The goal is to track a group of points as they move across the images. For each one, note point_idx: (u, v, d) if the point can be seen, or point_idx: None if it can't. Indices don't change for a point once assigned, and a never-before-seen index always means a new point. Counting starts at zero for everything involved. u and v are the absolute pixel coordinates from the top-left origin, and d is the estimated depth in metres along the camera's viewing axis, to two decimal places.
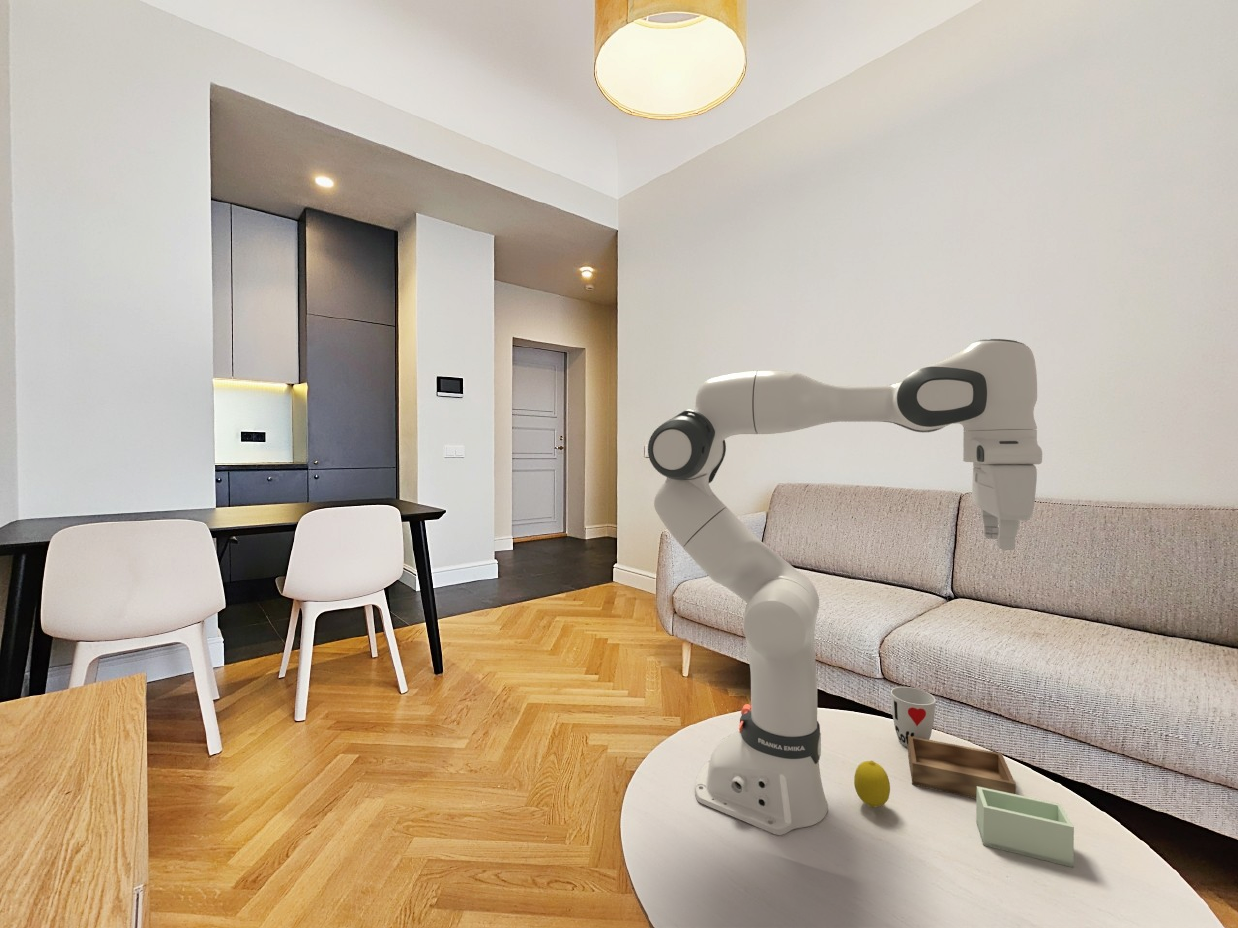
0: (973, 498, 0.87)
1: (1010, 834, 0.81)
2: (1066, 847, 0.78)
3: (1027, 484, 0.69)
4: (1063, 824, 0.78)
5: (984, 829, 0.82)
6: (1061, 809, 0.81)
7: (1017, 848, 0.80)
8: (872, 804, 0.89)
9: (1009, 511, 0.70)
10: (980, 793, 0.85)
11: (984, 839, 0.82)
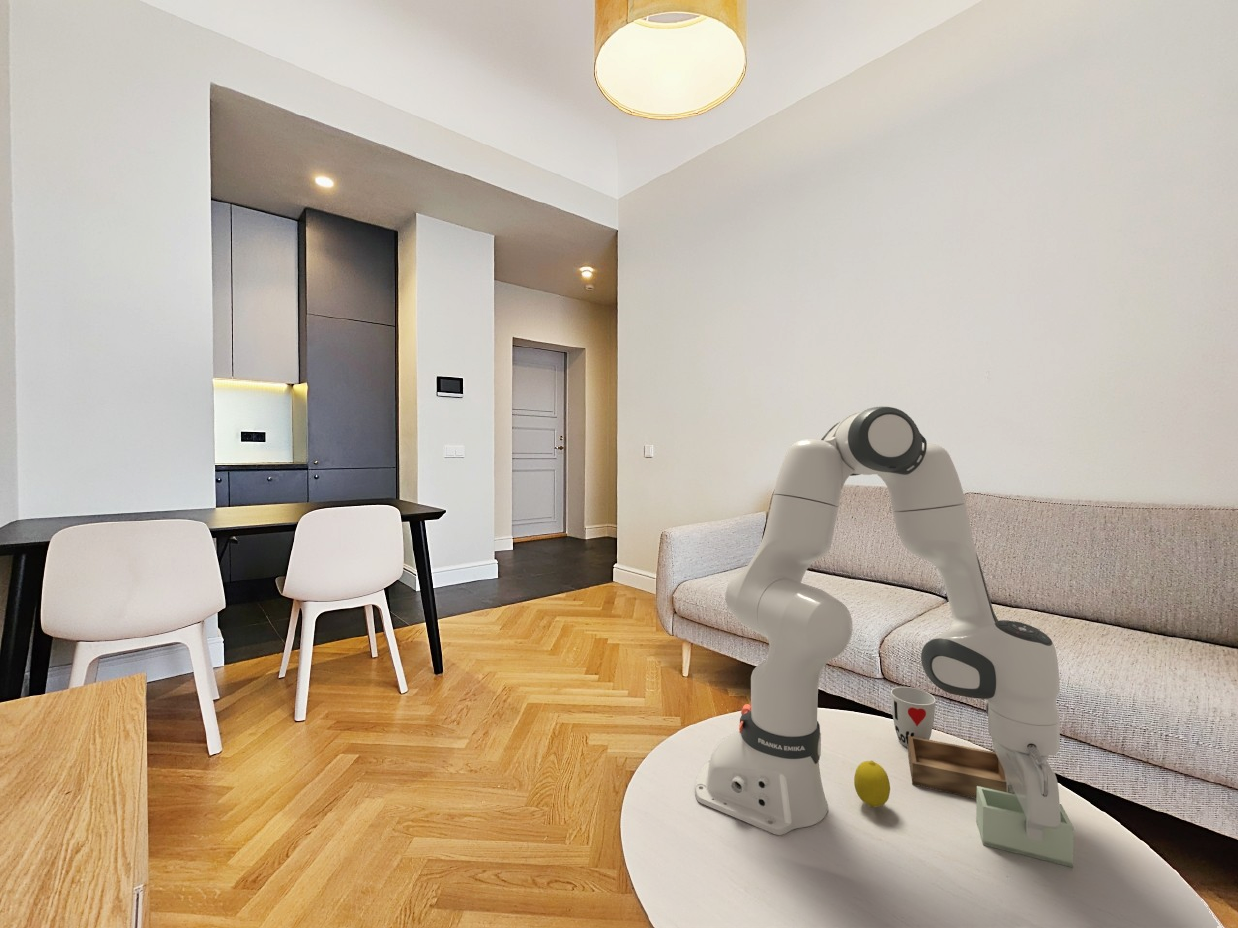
0: None
1: (1010, 834, 0.81)
2: (1066, 847, 0.78)
3: None
4: (1063, 824, 0.78)
5: (984, 829, 0.82)
6: (1061, 809, 0.81)
7: (1017, 848, 0.80)
8: (872, 804, 0.89)
9: None
10: (980, 793, 0.85)
11: (984, 839, 0.82)
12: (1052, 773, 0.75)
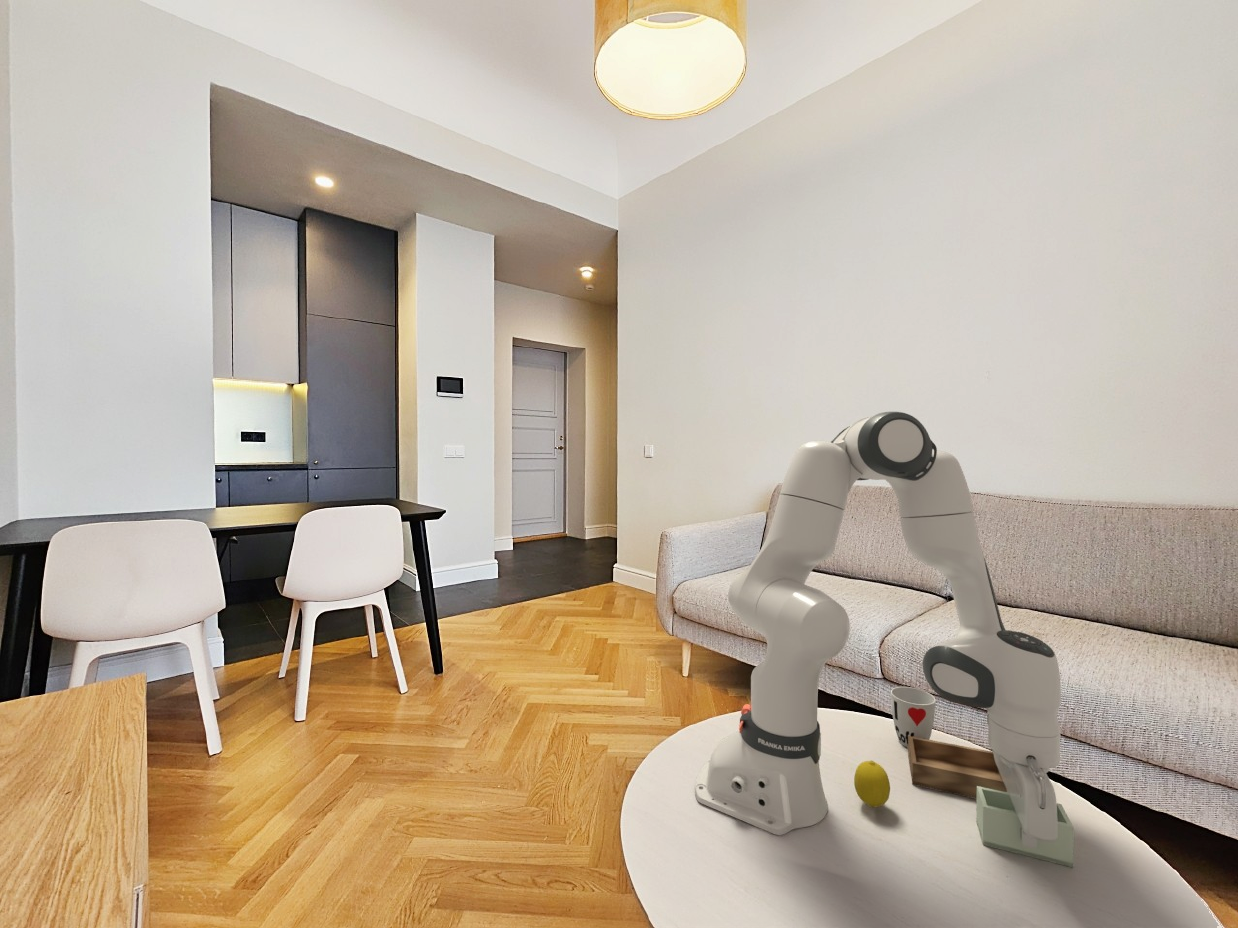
0: None
1: (1010, 834, 0.81)
2: (1066, 847, 0.78)
3: None
4: (1063, 824, 0.78)
5: (984, 829, 0.82)
6: (1061, 809, 0.81)
7: (1017, 848, 0.80)
8: (872, 804, 0.89)
9: None
10: (980, 793, 0.85)
11: (984, 839, 0.82)
12: (1050, 786, 0.74)
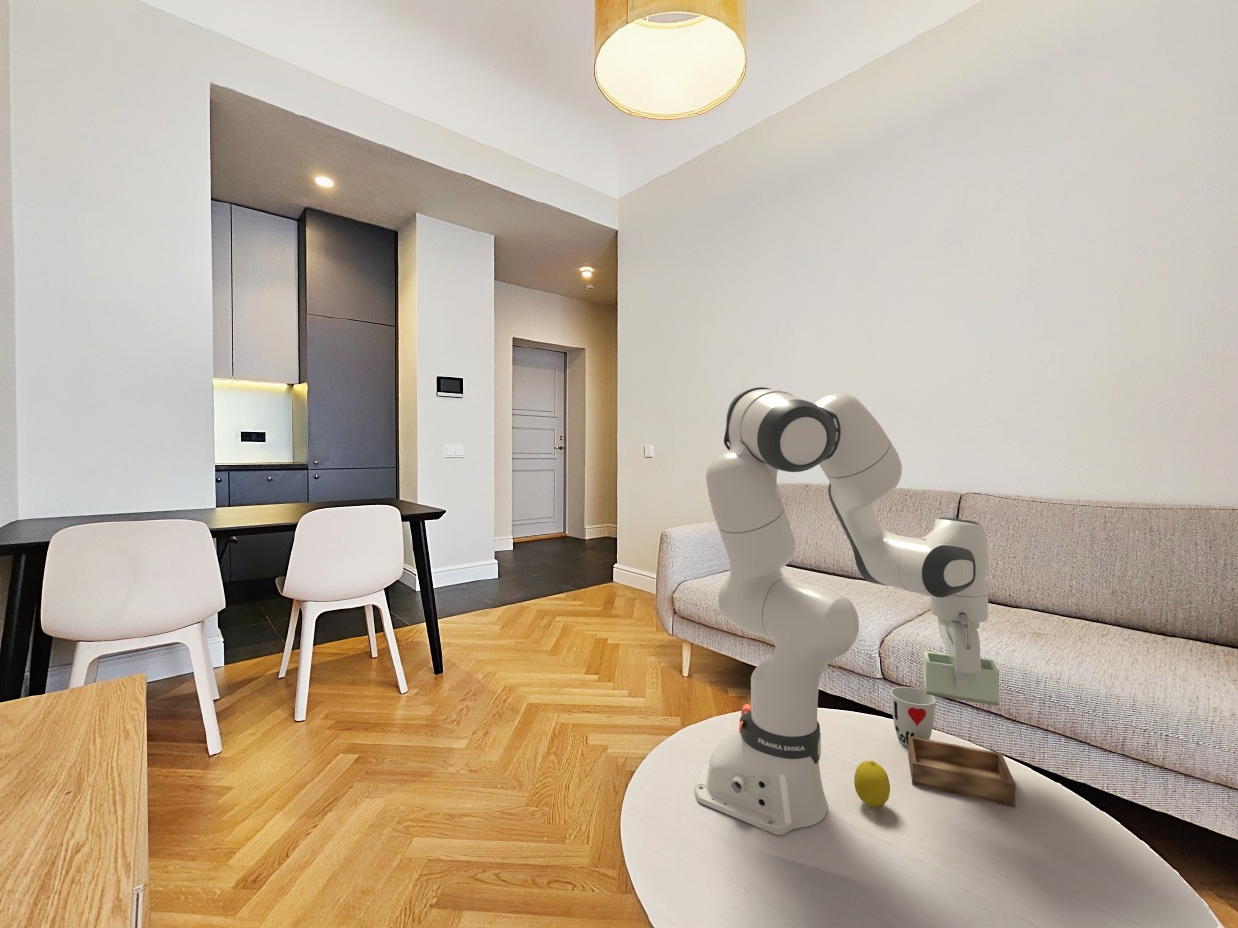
0: None
1: (948, 683, 0.96)
2: (993, 689, 0.93)
3: None
4: (990, 670, 0.93)
5: (927, 681, 0.97)
6: (991, 663, 0.96)
7: (953, 694, 0.96)
8: (872, 804, 0.89)
9: None
10: (925, 655, 1.00)
11: (927, 689, 0.97)
12: (975, 631, 0.89)
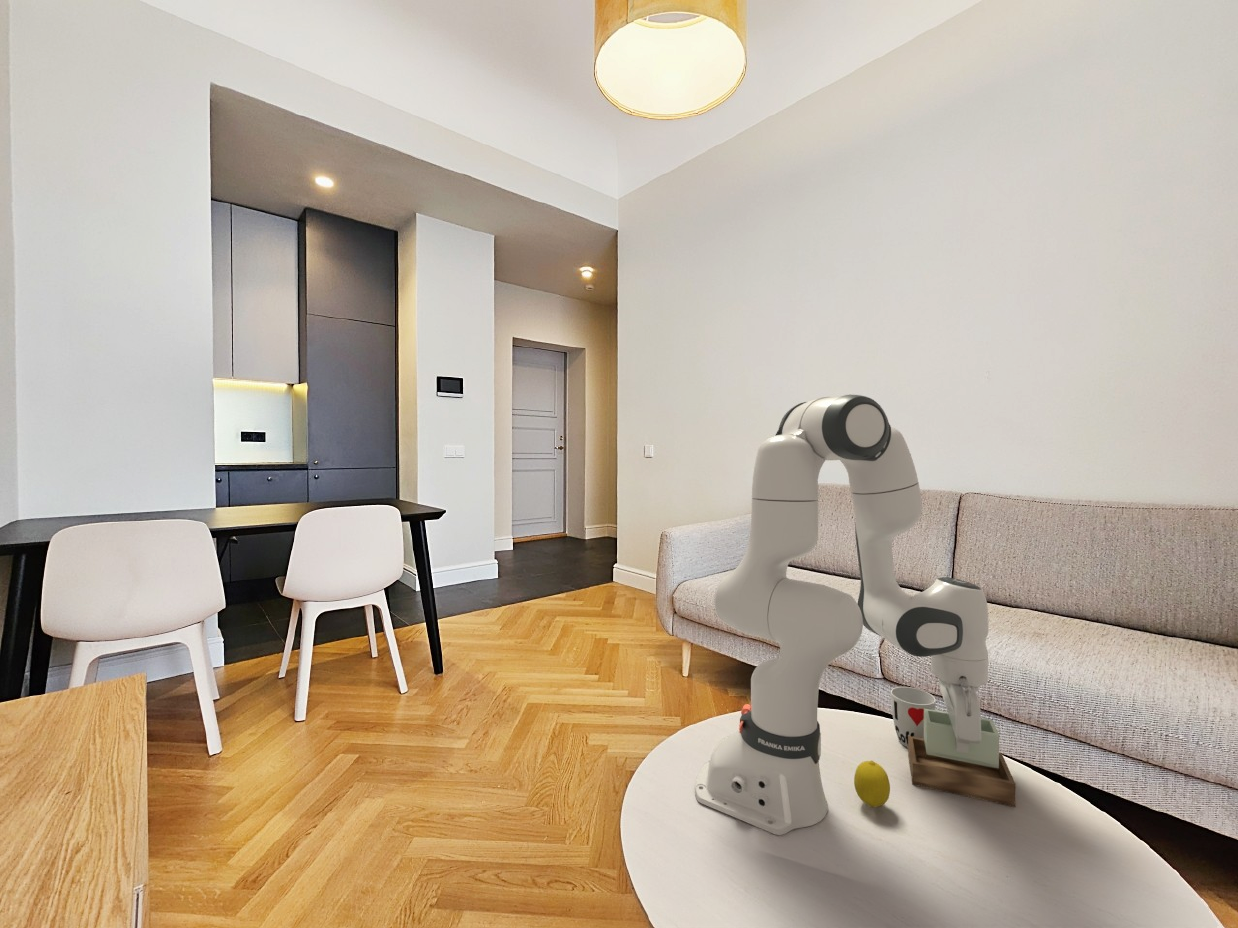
0: None
1: (948, 744, 0.96)
2: (993, 752, 0.94)
3: None
4: (991, 733, 0.94)
5: (927, 741, 0.98)
6: (991, 723, 0.97)
7: (954, 755, 0.96)
8: (872, 804, 0.89)
9: None
10: (926, 713, 1.01)
11: (927, 749, 0.98)
12: (976, 698, 0.90)
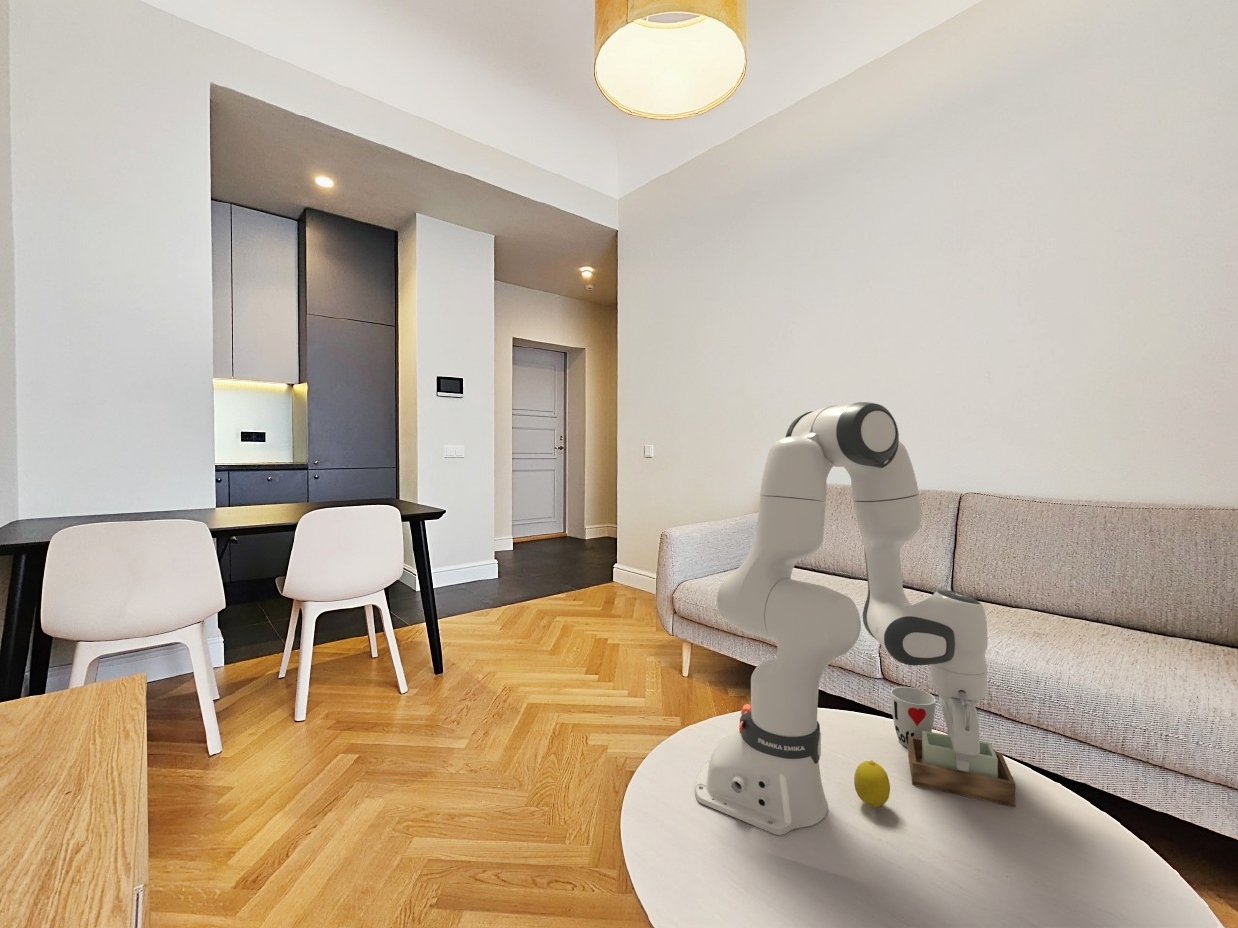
0: None
1: (947, 767, 0.96)
2: (991, 776, 0.94)
3: None
4: (989, 757, 0.94)
5: None
6: (990, 746, 0.97)
7: None
8: (872, 804, 0.89)
9: None
10: (924, 735, 1.01)
11: None
12: (975, 712, 0.90)
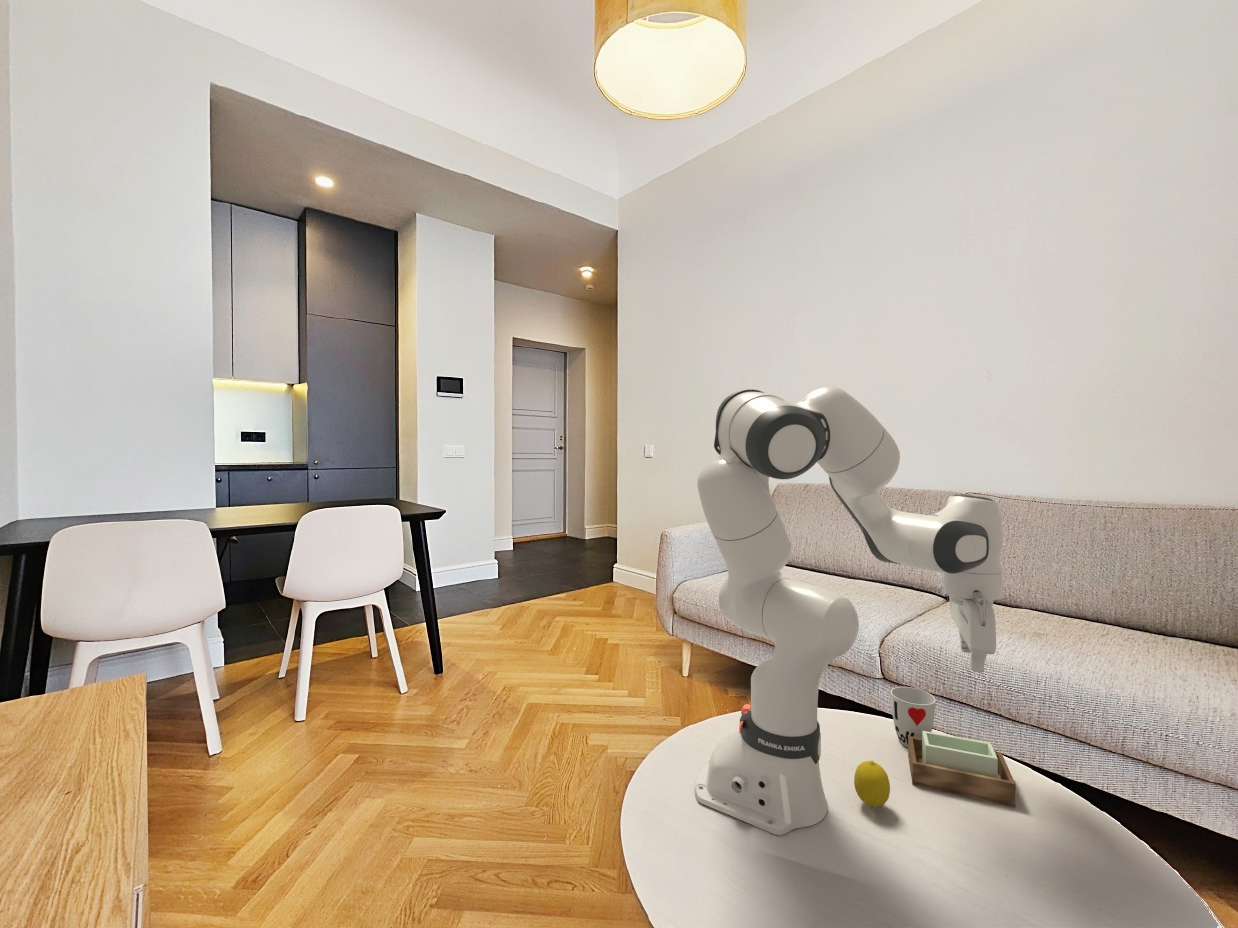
0: None
1: (947, 767, 0.96)
2: (991, 776, 0.94)
3: None
4: (989, 757, 0.94)
5: None
6: (990, 746, 0.97)
7: None
8: (872, 804, 0.89)
9: None
10: (924, 735, 1.01)
11: None
12: (991, 608, 0.88)
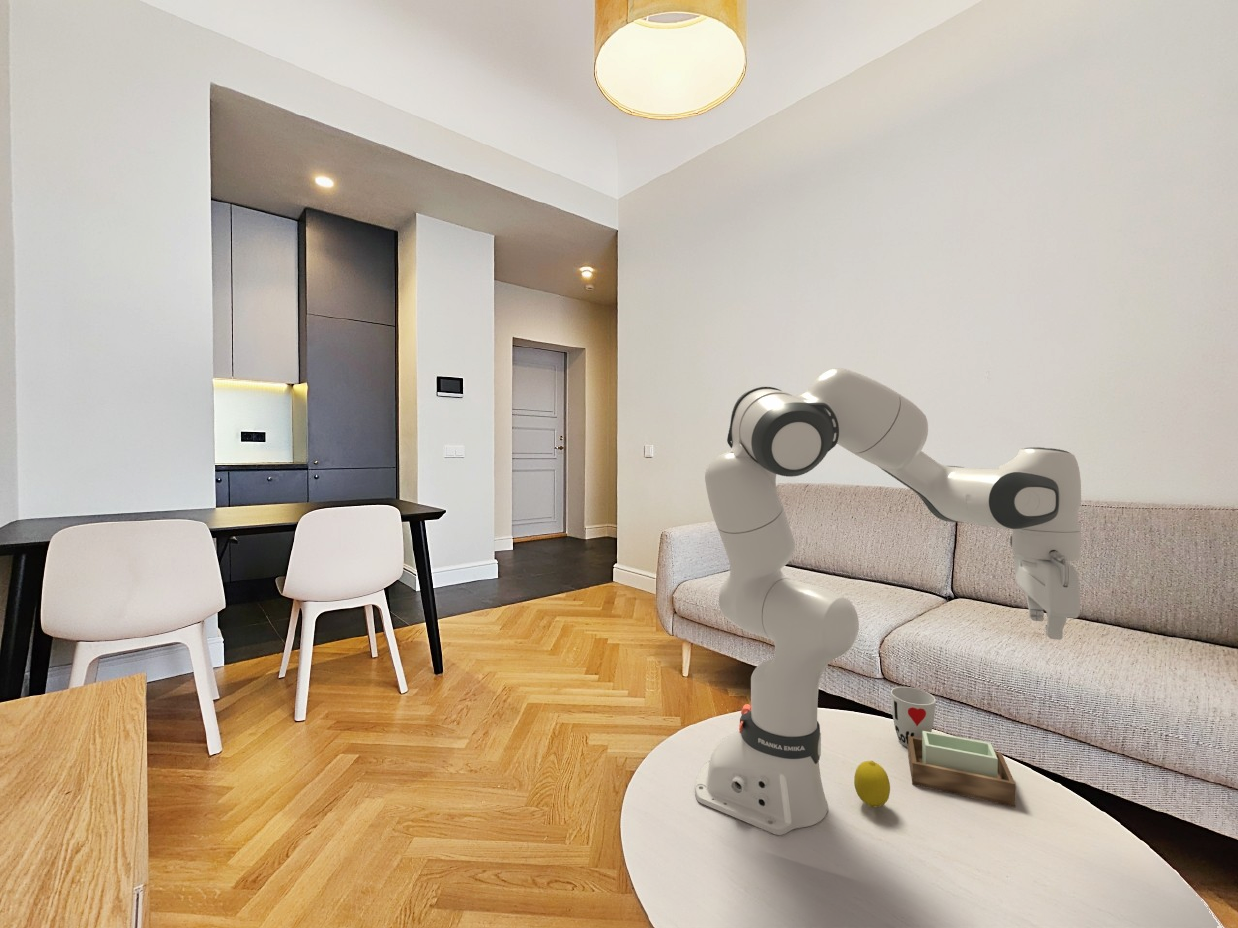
0: None
1: (947, 767, 0.96)
2: (991, 776, 0.94)
3: None
4: (989, 757, 0.94)
5: None
6: (990, 746, 0.97)
7: None
8: (872, 804, 0.89)
9: None
10: (924, 735, 1.01)
11: None
12: (1073, 568, 0.80)
